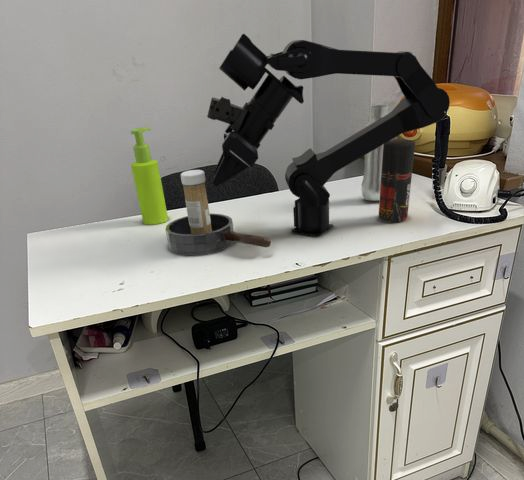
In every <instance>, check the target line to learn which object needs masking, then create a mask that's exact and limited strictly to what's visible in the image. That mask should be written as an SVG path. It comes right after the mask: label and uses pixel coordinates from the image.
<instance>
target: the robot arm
mask: <svg viewBox="0 0 524 480" xmlns="http://www.w3.org/2000/svg"><path fill="white" fill-rule="evenodd" d="M267 65H268V66H269V68H271V69H273V70H275V71H280V72H285V74H287V75H288V76H290V77H292V78H293V79H297V80H308V79H312V78H313V79H314V78H320V77H325V76H330V75H336V74H338V75H339V74H340V75H360V76H363V75H364V76H378V77H380V76H381V77H394V79H395V81H396V83H397V85H398V87H399V90H400V92H401V93H402V95H403V96H404V97H403V98H402V99H401V100H400V101H399V102H398V104H397V105H396V106H395V107H393V109H392V110H391V111H390V112H388V114H387V115H386V116H384V117H382V118H381V119H379V120H377V121H375V122H374V123H372V124H370V125H369V126H367V127H366V126H364V128H362V129H361V130H358V131H357V132H355V133H353V134H352V135H350V136H349V137H346V138H345V139H343V140H342V141H340V142H338V143H337V144H335V145H334V146H332V147H330V148H329V149H327V150H325V151H323V152H319V153H315V152H314V150H313V148H308V149H307V150H305V151H304V152H303V153H302V154H301V155H299V156H296V157H292V162H291V163H290V164H288V165H287V167H286V170H285V173H284V178H285V182H286V185H287V187H288V189H289V191H290V193H291V194H292V195H293V196H295V197H297V199H295V200H294V206H293V209H292V210H293V211H292V212H293V227H294V228H292V229H291V233H293V234H298V235H299V234H300V235H306V236H312V237H320V236H321V235H323V234H325V233H326V232H328V231H329V230H331V229H332V228H334V224H332V223H330V197H331V194H330V193H329V191H328V190H327V188H326V187H325V185H326V183H327V182H328V181H329V180H330V179H331V178H332V177H333V175H335V173H336V172H339V171H340V170H342V169H343V168H346V167H347V166H349V165H351V164H352V163H354V162H356V161H357V160H359V159H360V158H362V157H364V155H366V154H367V153H369V152H371V151H373V150H374V149H376V148H378V147H379V146H381V145H383V144H385V143H386V142H388V141H390V140H391V139H392V140H394V139H395V138H397V137H398V136H400V135H402V134H404V133H408V132H412V131H416V130H421V129H424V128H426V127H429V126H431V125H434V124H437V123H439V122H440V121H442V120H443V119H445V117H446V116H447V114H448V111H449V109H450V103H451V101H450V96H449V95H448V92H447V91H446V90H444V89H443V88H440V87H438V86H437V84H436V82H435V81H434V79H432V77H431V76H430V75H429V74H428V72H427V71H426V70H425V68H423V66H422V65H421V63H420V61H419V60H418V58H417V56H416V55H415V54H414V53H413V52H411V51H406V50H405V51H404V50H400V51H397V52H394V51H393V52H392V51H391V52H389V51H371V50H354V49H353V50H352V49H337V48H334V47H330V46H328V45H324V44H320V43H317V42H313V41H309V40H305V39H296V40H292V41H290V42H289V43H287V44H286V46H284V48H283V50H282V51H279V52H277V53H272V52H271V53H270V54H269V55H266V54H265V53H264V52H263V51H262V50H261V49H259V47H258V46H256V44H254V43H253V41H252V40H251V38H250V37H249V36H248V35H246V34H245V33H242V34H241V35H240V37H239V38H238V40H237V41H236V43H235V45H234V46H233V48H232V49H230V50H229V52H228V53H227V54H226V56H225V57H224V60H223V61H222V63H221V64H220V66H219V67H218V70H220V71H221V72H222V73H223V74H224V75H225V76H227V77H228V78H229V79H230V80H231V81H232V82H233V83H234V84H236V85H237V86H238V87H239V88H240V89H242V90H243V91H246V90H247V89H248V88H249V89H251V90H252V91H253V90H255V88H256V87H257V86H258V85H259V83H260V82H261V80H262V79H263V77H264V75H265V74H267V75H266V76H265V78H264V80H263V81H262V83H260V84H261V85H260V86H259V87H258V89H257V90H256V92H255V93H254V95H253V96H252V97H251V99H250V100H249V101H246V102H245V103H244V104H243V106H239V105H236V104H234V103H231V99H230V98H225V97H224V96H221V97H220V98H217V97H211V99H210V103H209V108H208V111H207V116H206V117H207V118H208V119H210V120H212V121H216V120H217V121H218V122H219V121H220V122H222V123H225V124H228V125H227V127H226V128H225V130H224V133H223V142H222V144H221V150H222V153H221V155H220V158H219V160H218V162H217V165H216V166H215V168H214V172H213V174H214V177H213V179H212V181H211V184H212V185H213V186H215V187H219V186H220V185H222V184H224V183H226V182H228V180H231V179H233V177H235V176H237V175H239V174H241V173H242V172H244V171H246V170H249V169H250V168H253V166H255V164H256V162H257V161H258V160H259V153H258V149H259V148H260V146H261V142H262V141H263V140H264V138H265V137H266V135H267V134H268V133H269V131H272V130H273V129H274V127H275V123H276V122H277V120H278V119H279V117H280V116H281V115H282V113H283V112H284V110H286V108H287V106H288V105H289V103H290V102H291V101H292V99H294V100H295V101H297V102H298V103H300V105H303V104H304V100H305V99H304V86H303V85H295V84H294V83H293V82H292V81H291V80H290V79H289V78H287V77H286V76H285V75H282V76H281V77H280V78H279V79H278V77H276V76H275V74H274V73H272V72H271V71H270V70H269V69H268V68H266V67H267Z"/></svg>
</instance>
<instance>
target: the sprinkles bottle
mask: <svg viewBox="0 0 524 480" xmlns="http://www.w3.org/2000/svg"><path fill="white" fill-rule="evenodd" d="M180 181H181V184H182V187H183V194H184V202H185V207H186V214H187V216H188V220H189V225H190V229H191V235H194V234H203V233H208V232H212V228H211V219H210V214H211V213H210V208H209V200H208V194H207V188H206V175H205V171H204V170H202V169H191V170H190V169H189V170H186V171H183V172H181V173H180Z"/></svg>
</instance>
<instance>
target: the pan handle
mask: <svg viewBox="0 0 524 480" xmlns="http://www.w3.org/2000/svg"><path fill="white" fill-rule="evenodd" d="M221 235H222V241H223V242H225V241H227V240H228V241H233V242H234V243H239V244H245V245H251V246H256V247H261V248H270V247H271V245H272V240H271V238H269V237H266V236H261V235H255V234H248V233H242V232H238V231H237V232H236V231H234V232H232V231H230V229H228V230H226V231H224V232H221Z"/></svg>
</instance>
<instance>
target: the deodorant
mask: <svg viewBox="0 0 524 480" xmlns="http://www.w3.org/2000/svg"><path fill="white" fill-rule="evenodd" d="M415 149H416V141H414V140H412V139H405V138H404V139H403V138H399V139H395V138H394V139H392V140H390V141H388V142H386V143H385V144H384V145H383V159H382V173H381V188H380V200H379V202H378V203H379V204H378V215H377V216H378V220H379V221H380V222H383V223H387V224H398V223H399V224H400V223H403V222H405V221H407V220H408V214H409V206H410V195H411V187H412V178H413V177H412V176H413V167H414V158H415Z"/></svg>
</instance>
